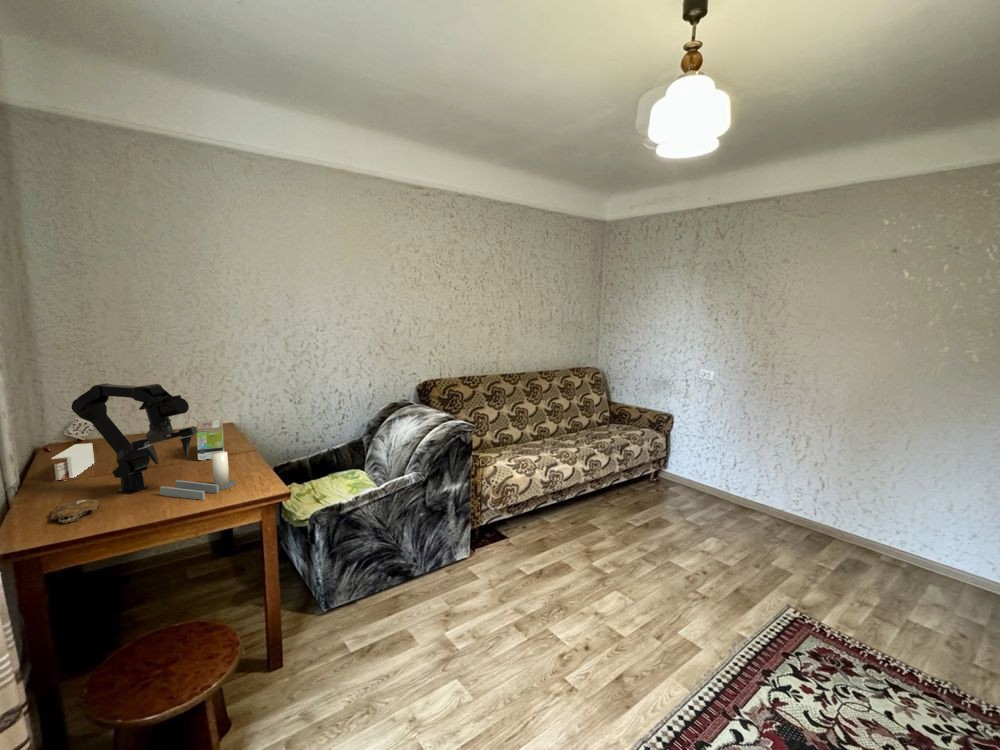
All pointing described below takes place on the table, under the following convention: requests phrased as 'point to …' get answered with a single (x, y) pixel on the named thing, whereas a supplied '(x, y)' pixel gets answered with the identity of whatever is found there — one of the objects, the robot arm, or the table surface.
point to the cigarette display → (74, 461)
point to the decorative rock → (73, 510)
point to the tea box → (209, 438)
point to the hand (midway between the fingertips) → (172, 460)
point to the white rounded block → (220, 468)
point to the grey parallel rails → (189, 490)
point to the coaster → (231, 483)
